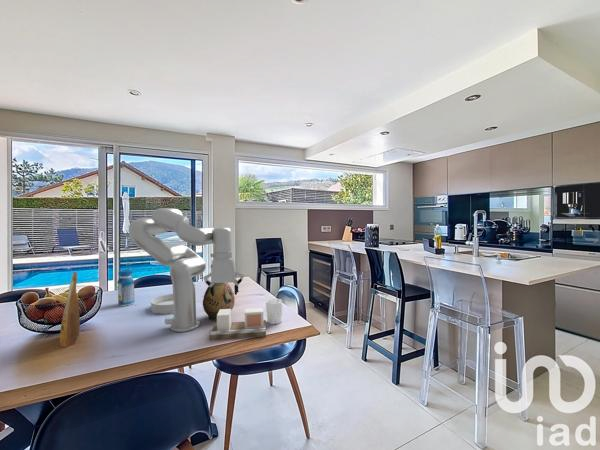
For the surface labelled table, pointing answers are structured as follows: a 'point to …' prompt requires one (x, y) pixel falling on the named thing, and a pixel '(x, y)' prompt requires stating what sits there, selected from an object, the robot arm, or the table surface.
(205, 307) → the ceramic jug
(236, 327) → the grey rectangular tray
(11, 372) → the table surface
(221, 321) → the turned carton
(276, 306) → the white cup
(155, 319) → the table surface
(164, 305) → the dish
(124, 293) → the beverage bottle
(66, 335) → the pancake mix bag
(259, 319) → the carton
